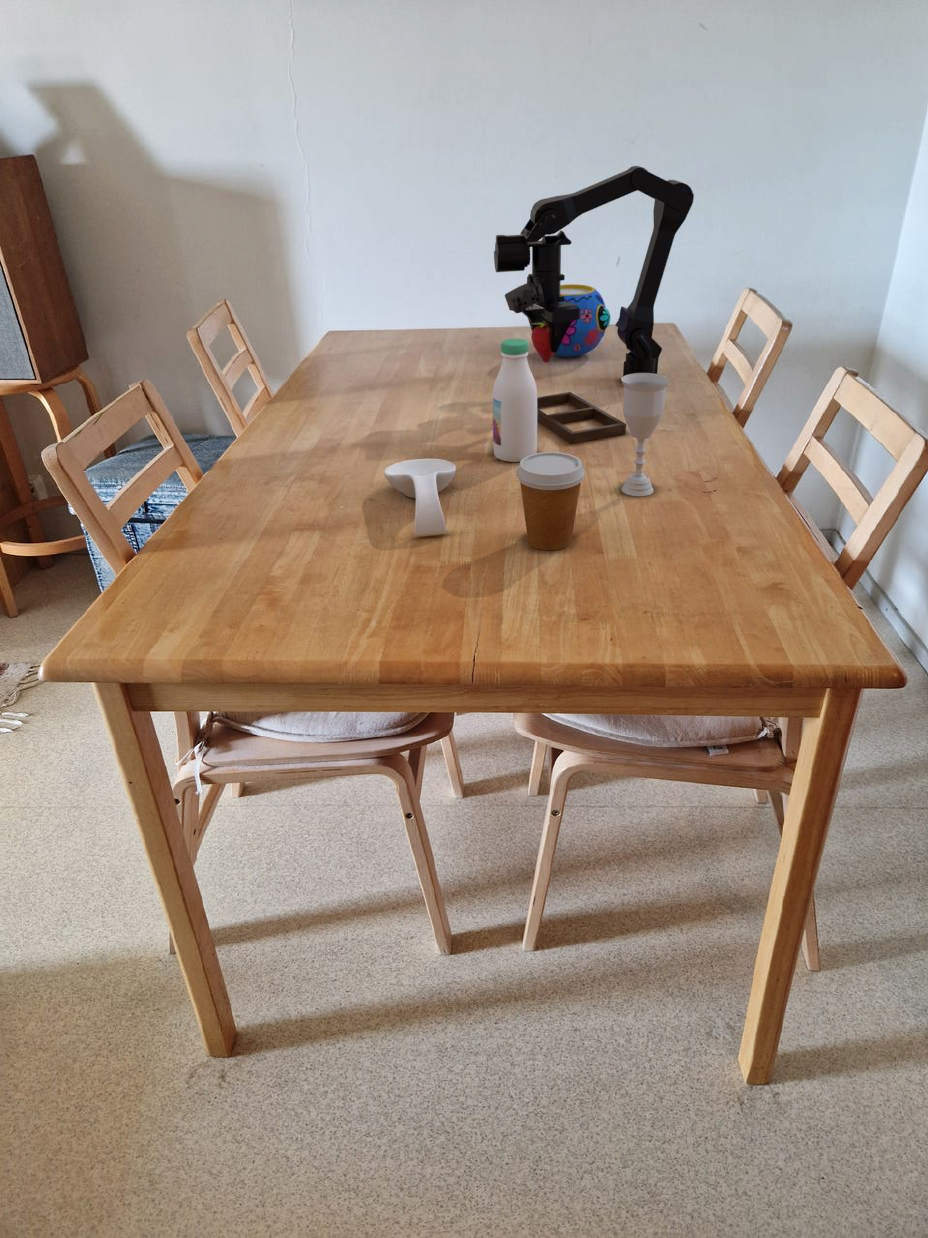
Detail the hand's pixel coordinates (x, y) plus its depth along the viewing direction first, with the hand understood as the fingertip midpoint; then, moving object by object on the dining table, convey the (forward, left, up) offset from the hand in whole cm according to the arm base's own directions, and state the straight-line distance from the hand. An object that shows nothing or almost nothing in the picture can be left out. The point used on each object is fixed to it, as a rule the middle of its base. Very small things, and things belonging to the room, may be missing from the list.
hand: (545, 347), depth 187 cm
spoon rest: (+44, +45, -9) cm, 64 cm away
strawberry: (0, 0, -3) cm, 3 cm away
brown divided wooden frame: (+5, +21, -9) cm, 23 cm away
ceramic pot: (-17, -21, -9) cm, 28 cm away
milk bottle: (+22, +32, -9) cm, 40 cm away
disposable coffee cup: (+32, +65, -9) cm, 73 cm away
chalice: (+11, +55, -9) cm, 57 cm away
